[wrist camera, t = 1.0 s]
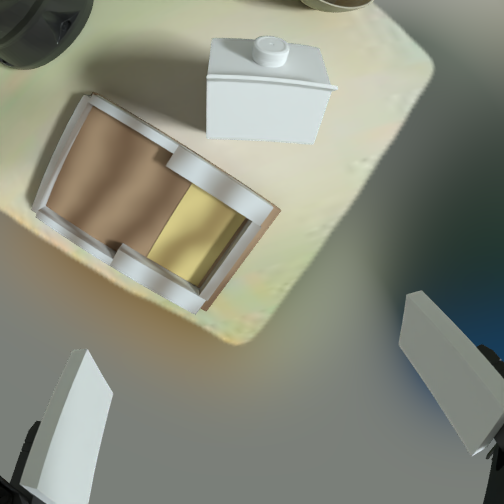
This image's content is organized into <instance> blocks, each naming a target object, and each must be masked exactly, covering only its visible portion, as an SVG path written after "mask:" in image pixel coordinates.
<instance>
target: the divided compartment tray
mask: <svg viewBox="0 0 504 504" xmlns="http://www.w3.org/2000/svg"><path fill="white" fill-rule="evenodd" d="M31 210H32V211H34V212H35V213H37V214H36V218H38V219H39V220H40V221H42V222H43V223H45V224H46V225H48V226H49V227H51V228H52V229H53V230H55V231H56V232H58V233H59V234H61V235H62V236H64V237H65V238H67V239H68V240H70V241H71V242H73V243H75V244H76V245H78V246H79V247H81V248H82V249H84V250H85V251H87V252H88V253H90V254H92V255H93V256H95V257H96V258H98V259H100V260H101V261H103V262H104V263H106V264H108V265H109V266H111V267H113V268H114V269H116V270H117V271H119V272H121V273H122V274H124V275H126V276H127V277H129V278H131V279H132V280H134V281H136V282H138V283H139V284H141V285H143V286H144V287H146V288H148V289H150V290H151V291H153V292H155V293H157V294H158V295H160V296H162V297H164V298H166V299H167V300H169V301H171V302H173V303H175V304H176V305H178V306H180V307H182V308H184V309H186V310H187V311H189V312H191V313H193V314H195V315H196V313H197V312H198V311H199V309H200V308H201V309H202V310H204V311H207V310H208V309H209V307H210V306H211V305H212V303H213V302H214V301H215V299H216V298H217V296H218V295H219V294H220V292H221V291H222V290H223V288H224V287H225V286H226V284H227V283H228V282H229V280H230V279H231V278H232V276H233V275H234V274H235V272H236V271H237V270H238V268H239V267H240V265H241V264H242V263H243V261H244V260H245V259H246V257H247V256H248V255H249V253H250V252H251V251H252V249H253V248H254V247H255V245H256V244H257V243H258V241H259V240H260V239H261V237H262V236H263V234H264V233H265V232H266V230H267V229H268V228H269V226H270V225H271V224H272V222H273V221H274V220H275V218H276V217H277V216H278V214H279V213H280V212H281V210H280V209H279V208H278V207H277V206H275V205H274V204H272V203H271V202H270V201H268V200H267V199H265V198H264V197H262V196H261V195H259V194H258V193H256V192H255V191H253V190H252V189H250V188H249V187H248V186H246V185H245V184H243V183H242V182H240V181H239V180H237V179H236V178H234V177H233V176H231V175H230V174H228V173H226V172H225V171H223V170H222V169H220V168H219V167H217V166H216V165H214V164H213V163H211V162H210V161H208V160H207V159H205V158H203V157H202V156H200V155H199V154H197V153H196V152H194V151H192V150H191V149H189V148H188V147H186V146H185V145H183V144H181V143H180V142H178V141H177V140H175V139H173V138H172V137H170V136H169V135H167V134H165V133H164V132H162V131H160V130H159V129H157V128H156V127H154V126H152V125H151V124H149V123H147V122H146V121H144V120H142V119H141V118H139V117H137V116H136V115H134V114H132V113H131V112H129V111H127V110H125V109H124V108H122V107H120V106H119V105H117V104H115V103H113V102H112V101H110V100H108V99H107V98H105V97H103V96H101V95H100V94H98V93H95V92H93V93H92V94H91V96H89V95H83V97H82V98H81V100H80V102H79V104H78V105H77V107H76V109H75V111H74V113H73V115H72V116H71V118H70V120H69V122H68V124H67V126H66V128H65V130H64V132H63V134H62V136H61V138H60V140H59V142H58V145H57V147H56V149H55V151H54V153H53V155H52V158H51V160H50V162H49V165H48V167H47V169H46V172H45V174H44V176H43V179H42V181H41V184H40V187H39V189H38V192H37V194H36V197H35V200H34V203H33V205H32V208H31Z"/></svg>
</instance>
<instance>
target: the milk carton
mask: <svg viewBox="0 0 504 504" xmlns="http://www.w3.org/2000/svg"><path fill="white" fill-rule="evenodd" d="M206 79H207V106H206V138H207V139H228V140H254V141H271V142H286V143H298V144H314V142H315V139H316V136H317V133H318V130H319V127H320V124H321V121H322V118H323V115H324V112H325V110H326V107H327V104H328V101H329V98H330V95H331V92H332V91H335V90H338V87H337V86H334V85H331V84H330V81H329V77H328V74H327V71H326V68H325V64H324V61H323V58H322V55H321V52H320V49H319V48H317V47H312V46H306V45H300V44H293V43H287V42H286V41H284V40H283V39H281V38H278V37H274V36H261V37H258V38H256V39H255V40H253V39H236V38H213V39H212V43H211V50H210V58H209V66H208V74H207V75H206Z"/></svg>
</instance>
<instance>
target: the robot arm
mask: <svg viewBox="0 0 504 504" xmlns="http://www.w3.org/2000/svg"><path fill="white" fill-rule="evenodd" d="M92 6H93V0H0V62H1V63H3V64H4V65H6V66H8V67H12V68H17V69H23V70H27V69H34V68H37V67H40V66H43V65H45V64H47V63H49V62H50V61H52V60H53V59H55V58H56V57H58V56H59V55H60V54H61V53H63V52H64V51H65V50H66V49H67V48H68V47H69V46H70V45H71V44H72V43H73V41H74V40H75V39H76V38H77V36H78V35H79V34H80V32H81V31H82V29H83V27H84V26H85V24H86V22H87V20H88V18H89V15H90V13H91V10H92ZM399 346H400V348H401V349H402V350H403V352H404V353H405V355H406V356H407V358H408V359H409V360H410V362H411V363H412V365H413V366H414V368H415V369H416V371H417V372H418V374H419V375H420V377H421V378H422V380H423V381H424V382H425V384H426V386H427V387H428V389H429V390H430V392H431V393H432V395H433V396H434V398H435V399H436V401H437V402H438V404H439V405H440V407H441V408H442V410H443V411H444V413H445V415H446V416H447V418H448V419H449V421H450V423H451V424H452V426H453V427H454V429H455V431H456V432H457V434H458V435H459V437H460V439H461V440H462V442H463V444H464V445H465V447H466V449H467V450H468V452H469V454H470V455H471V456H473V455H475V454H476V453H478V452H480V451H481V450H483V449H484V448H486V447H487V446H488V445H489V444H490V442H491V441H492V440H493V438H494V439H495V440H496V442H497V443H496V444H495V446H494V447H493V448H492V449H491V450H490V452H489V453H488V454H487V457H486V459H489V458H490V456H491V455H492V454H493V458H492V465H491V470H490V475H489V480H488V485H487V489H486V494H485V498H484V502H483V504H504V362H503V361H501V359H500V358H499V357H498V356H497V354H496V353H495V352H494V351H493V350H491V349H489V348H488V347H486V346H484V345H479V346H477V347H475V345H474V344H473V343H472V342H471V341H470V340H469V339H468V338H467V337H466V336H465V335H464V334H463V332H462V331H461V330H460V329H459V328H458V327H457V326H456V325H455V324H454V323H453V322H452V321H451V320H450V319H449V318H448V317H447V316H446V315H445V314H444V313H443V312H442V311H441V309H439V308H438V307H437V305H436V304H435V303H433V301H431V299H430V298H429V297H428V296H426V294H424V293H423V292H422V291H417V292H414V293H410V294H407V296H406V303H405V309H404V316H403V322H402V328H401V334H400V340H399ZM112 396H113V392H112V391H111V389H110V387H109V386H108V384H107V382H106V381H105V379H104V378H103V376H102V374H101V372H100V371H99V369H98V367H97V365H96V363H95V362H94V360H93V358H92V357H91V354H90V353H89V351H88V349H79V350H73V351H72V353H71V355H70V357H69V359H68V361H67V363H66V366H65V368H64V370H63V372H62V374H61V376H60V379H59V381H58V383H57V385H56V387H55V390H54V392H53V394H52V397H51V399H50V401H49V404H48V406H47V409H46V411H45V413H44V416H43V418H42V421H36V422H35V424H34V425H33V426H32V427H31V428H30V430H29V431H28V434H27V437H26V439H25V443H24V444H23V447H22V452H20V455H19V458H18V461H17V464H16V467H15V470H14V473H13V476H12V479H11V481H10V483H8V482H7V481H6V480H5V479H3V478H2V477H1V476H0V504H88V503H89V497H90V492H91V486H92V480H93V476H94V471H95V466H96V461H97V457H98V452H99V448H100V443H101V439H102V435H103V431H104V426H105V423H106V419H107V415H108V411H109V407H110V404H111V399H112Z"/></svg>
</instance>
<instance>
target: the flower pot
mask: <svg viewBox="0 0 504 504" xmlns="http://www.w3.org/2000/svg"><path fill="white" fill-rule="evenodd" d="M300 1H301V2H303V3H304V4H305V5H307V6H309V7H311V8H313V9H316V10H319V11H324V12H347V11H352V10H356V9H359V8H362V7H365V6H367V5H369V4H370V3H372V2H373V1H374V0H300Z"/></svg>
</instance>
